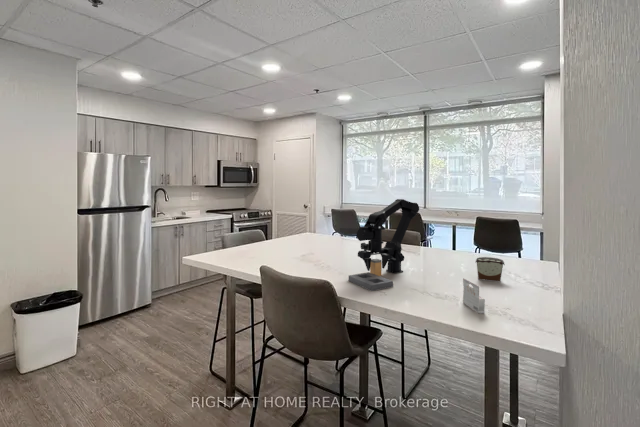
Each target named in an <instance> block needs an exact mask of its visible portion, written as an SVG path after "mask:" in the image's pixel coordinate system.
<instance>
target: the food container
mask: <svg viewBox="0 0 640 427" xmlns="http://www.w3.org/2000/svg"><path fill="white" fill-rule="evenodd" d="M475 264H476V270H477V272H476V273H477V280H480V281H490V282H498V283H501V280H502V274H503V267H504V266H505V261H504V260H503V259H501V258H497V257H489V256H481V257H477V258H476V259H475Z"/></svg>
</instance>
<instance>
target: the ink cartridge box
mask: <svg viewBox="0 0 640 427" xmlns="http://www.w3.org/2000/svg"><path fill="white" fill-rule="evenodd" d="M462 282H463V283H462V284H463V291H462V292H463V293H462V303H463V304H464V305H466V306H467V307H468V308H470V309H472V310H473V311H474V312H476V313H477V314H485V307H486V306H485V305H486V303H485V302H486V299H485V298H483V297H482V296H480V286H479V285H477V284H475V283H473V282H471V281H469V280H467V279H465V278H463V279H462ZM470 285H471V286H470Z"/></svg>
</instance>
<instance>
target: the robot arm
mask: <svg viewBox="0 0 640 427" xmlns="http://www.w3.org/2000/svg"><path fill="white" fill-rule="evenodd" d="M399 210H401V218H400V220H399V223H398V224H397V227H396V230H395V232H394V234H393V236H392V239H391V240H390V241H388V240H387V241H386V242H385V245H384V246H383V244H384V241H383V238H382V237H383V235H382V234H383V230H386V228H385V227H384V224H385V223H386V222H387V219H388V218H389V217H391V216H392V215H393V214H394V213H396V212H398V211H399ZM419 211H420V206H419V204H418V203H417V202H411V201H408V200H406V199H403V198H401V199H400V198H397V199H395V200H394V201H392V202H391V203H390V204H389V205H387V206H386V207H385V208H384V207H383V209H382V210H378V211H376V212H375V211H374V212H373V213H371V214H369V215H368V218H367V220H366V222H365V224H364V226H359V228H358V230H357V231H356V239H357V240H358V241H359V242H361V243H360V249H361V250H359V251H358V252H357V257H358V258H360V259H362V261H364V262H363V263H364V264H365V267H366V269H367V271H368V272H370V265H371V259H372V257H371V256H374V255H376V256H377V255H380V257H381V260H382V268H381V269H383V270H384V269H385V268H386V265H387V269H386V270H385V271H386V272H389V273H391V274H397V273H403V272H404V270H402V262H404V260H405V256H404V254H403V253H402V250H403V249H402V242H403V240H404V236H405V235H406V232H407V230H408V228H409V225H410V224H411V220H412V219H414V218H415V217H416V216H417V215H418V214H419ZM362 241H363V242H362ZM364 241H368V242H367V243H366V242H364ZM382 246H383V247H382Z"/></svg>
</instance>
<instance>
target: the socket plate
mask: <svg viewBox="0 0 640 427" xmlns="http://www.w3.org/2000/svg"><path fill="white" fill-rule="evenodd" d="M348 281H349V282H351V283H352V284H355V285H357V286H359V287H361V288H363V289H366V290H368V291H370V292H373V291H378V290H383V289H388V288H389V289H390V288H393V287H394V281H393V280H391V279H389V278H386V277H383V276H378V275H375V274H372V273H370V271H368V272H362V273H356V274H350V275H348Z"/></svg>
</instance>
